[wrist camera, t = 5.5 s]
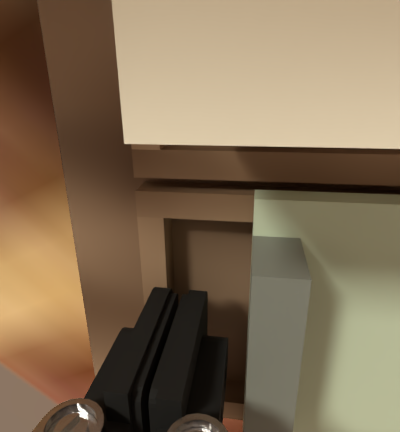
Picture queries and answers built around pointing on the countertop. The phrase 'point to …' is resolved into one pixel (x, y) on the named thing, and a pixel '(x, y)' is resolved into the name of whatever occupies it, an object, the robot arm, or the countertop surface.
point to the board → (168, 195)
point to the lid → (324, 313)
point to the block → (259, 72)
